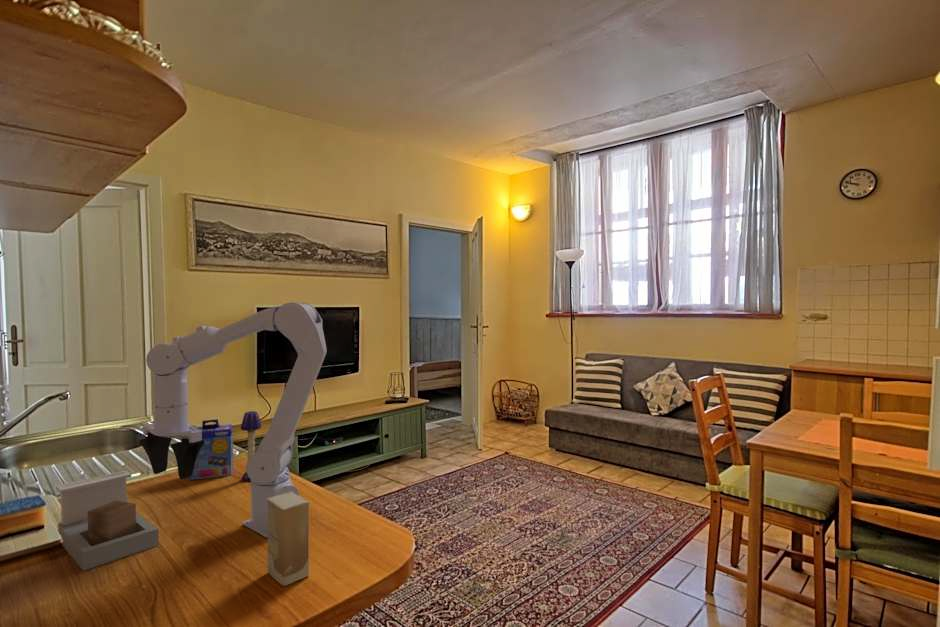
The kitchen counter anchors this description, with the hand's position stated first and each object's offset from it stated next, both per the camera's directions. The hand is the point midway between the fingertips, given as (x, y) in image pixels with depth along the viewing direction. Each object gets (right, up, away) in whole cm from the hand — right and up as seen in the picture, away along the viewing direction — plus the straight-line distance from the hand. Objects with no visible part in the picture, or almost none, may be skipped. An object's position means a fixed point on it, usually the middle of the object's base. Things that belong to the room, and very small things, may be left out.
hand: (172, 475), depth 97 cm
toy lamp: (+3, -10, +27) cm, 29 cm away
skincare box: (+29, -11, -17) cm, 35 cm away
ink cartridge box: (-8, -10, +31) cm, 33 cm away
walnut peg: (-6, -10, -7) cm, 14 cm away
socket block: (-9, -11, -5) cm, 15 cm away
